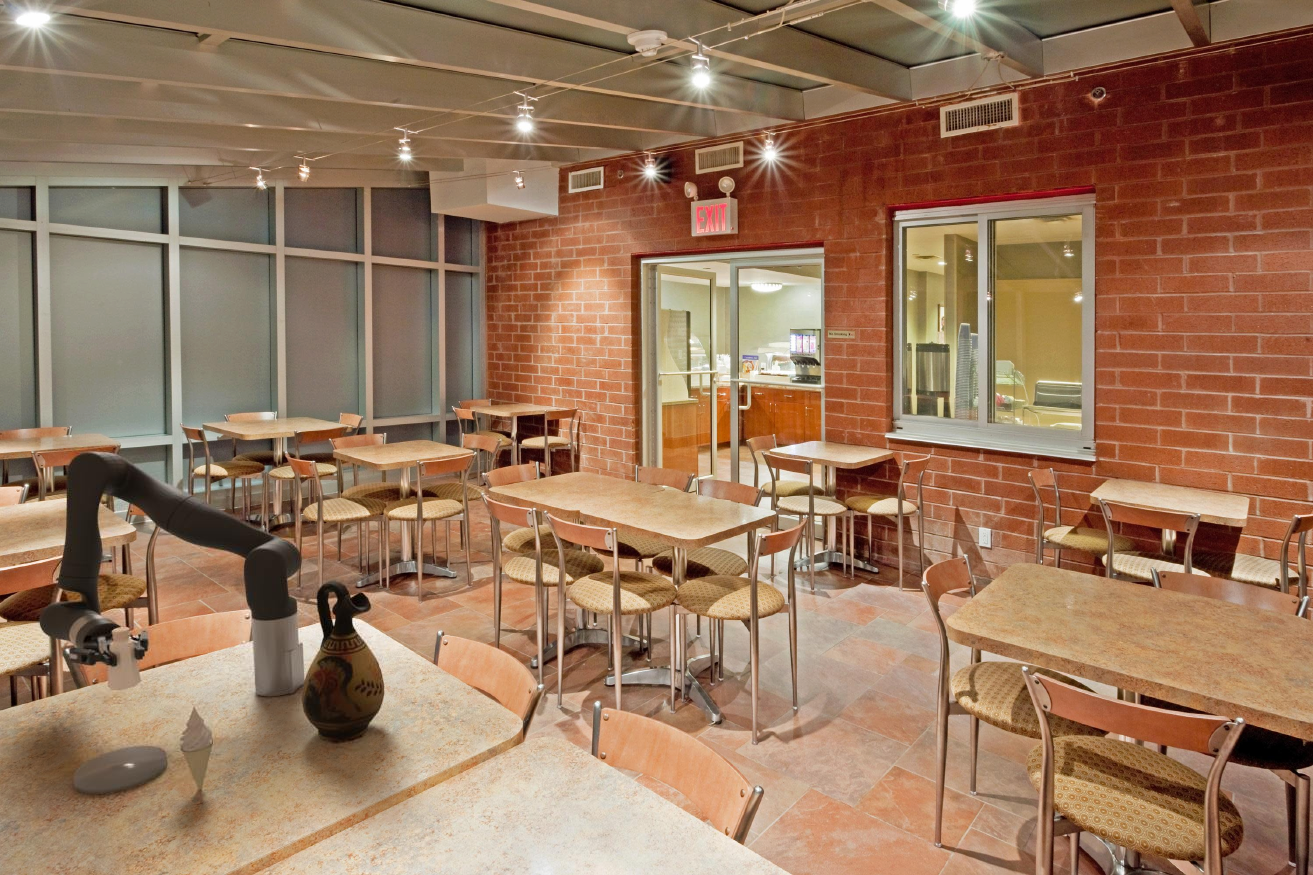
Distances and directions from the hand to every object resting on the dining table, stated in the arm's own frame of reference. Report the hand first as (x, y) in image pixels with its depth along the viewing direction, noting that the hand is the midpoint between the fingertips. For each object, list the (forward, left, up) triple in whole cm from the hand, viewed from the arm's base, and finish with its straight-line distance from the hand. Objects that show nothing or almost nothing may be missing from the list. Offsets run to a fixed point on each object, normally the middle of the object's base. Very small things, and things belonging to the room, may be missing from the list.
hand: (127, 657), depth 152 cm
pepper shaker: (+2, -2, -6) cm, 7 cm away
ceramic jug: (-37, -8, -18) cm, 42 cm away
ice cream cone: (-21, +14, -18) cm, 31 cm away
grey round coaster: (-4, +9, -18) cm, 20 cm away
